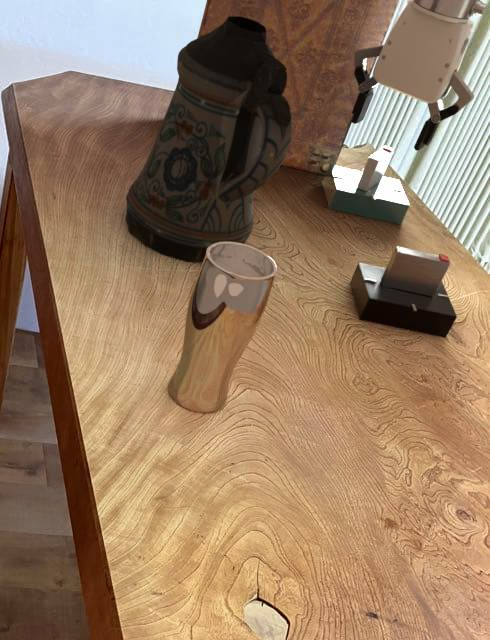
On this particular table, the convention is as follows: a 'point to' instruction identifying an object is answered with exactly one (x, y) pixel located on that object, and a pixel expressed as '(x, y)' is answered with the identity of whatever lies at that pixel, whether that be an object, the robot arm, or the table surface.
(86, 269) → the table surface
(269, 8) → the book
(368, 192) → the base
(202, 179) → the beer stein
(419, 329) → the base
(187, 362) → the beer glass
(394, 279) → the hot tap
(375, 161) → the cold tap
